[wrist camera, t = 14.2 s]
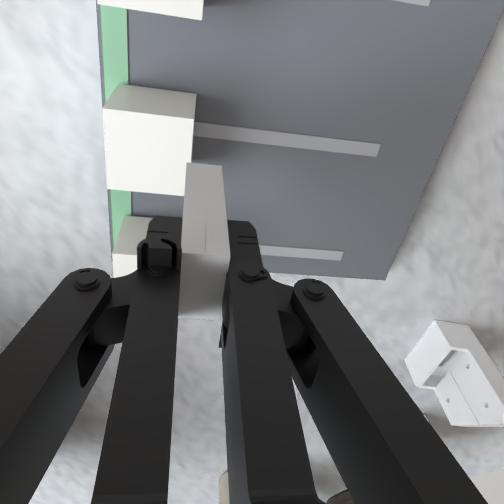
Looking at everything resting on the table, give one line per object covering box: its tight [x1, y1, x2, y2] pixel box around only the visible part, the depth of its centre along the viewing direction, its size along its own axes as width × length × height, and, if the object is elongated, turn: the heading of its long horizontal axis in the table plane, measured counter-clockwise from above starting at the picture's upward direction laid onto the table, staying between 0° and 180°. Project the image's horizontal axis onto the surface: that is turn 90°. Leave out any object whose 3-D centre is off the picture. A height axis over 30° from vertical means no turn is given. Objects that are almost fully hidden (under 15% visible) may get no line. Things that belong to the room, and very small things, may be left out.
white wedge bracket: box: [404, 320, 504, 427], centre depth 36 cm, size 4×10×9 cm, turn 164°
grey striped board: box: [96, 0, 504, 280], centre depth 25 cm, size 20×20×2 cm
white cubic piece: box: [112, 216, 153, 278], centre depth 26 cm, size 4×4×4 cm
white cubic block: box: [102, 84, 196, 196], centre depth 21 cm, size 4×4×4 cm
